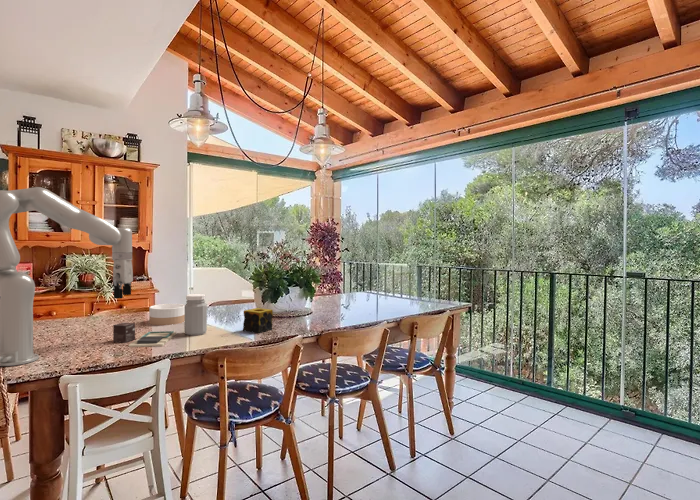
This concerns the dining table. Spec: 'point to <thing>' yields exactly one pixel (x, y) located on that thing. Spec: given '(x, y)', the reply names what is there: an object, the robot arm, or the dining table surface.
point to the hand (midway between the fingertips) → (122, 296)
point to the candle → (257, 320)
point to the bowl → (166, 314)
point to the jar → (195, 315)
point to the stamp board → (153, 339)
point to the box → (123, 332)
